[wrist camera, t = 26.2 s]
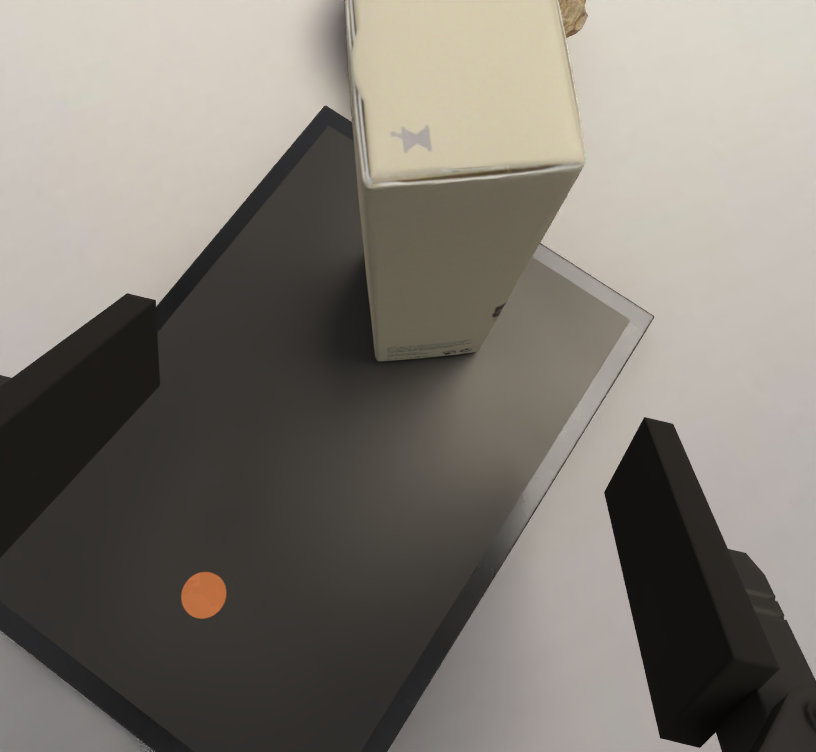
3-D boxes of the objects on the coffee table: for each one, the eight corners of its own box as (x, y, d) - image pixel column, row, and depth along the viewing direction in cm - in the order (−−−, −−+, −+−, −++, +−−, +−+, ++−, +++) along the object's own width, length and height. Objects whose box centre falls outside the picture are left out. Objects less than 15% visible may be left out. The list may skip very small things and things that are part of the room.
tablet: (-50, 572, 21) (-75, 576, 20) (327, 118, 26) (324, 101, 25) (314, 856, 20) (311, 878, 19) (644, 323, 25) (657, 315, 24)
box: (481, 355, 23) (601, 182, 10) (372, 364, 23) (359, 198, 10) (466, 233, 24) (557, -58, 11) (361, 241, 24) (337, -48, 11)
